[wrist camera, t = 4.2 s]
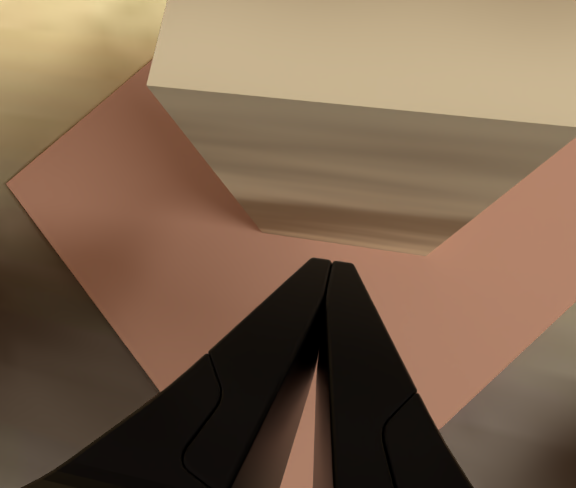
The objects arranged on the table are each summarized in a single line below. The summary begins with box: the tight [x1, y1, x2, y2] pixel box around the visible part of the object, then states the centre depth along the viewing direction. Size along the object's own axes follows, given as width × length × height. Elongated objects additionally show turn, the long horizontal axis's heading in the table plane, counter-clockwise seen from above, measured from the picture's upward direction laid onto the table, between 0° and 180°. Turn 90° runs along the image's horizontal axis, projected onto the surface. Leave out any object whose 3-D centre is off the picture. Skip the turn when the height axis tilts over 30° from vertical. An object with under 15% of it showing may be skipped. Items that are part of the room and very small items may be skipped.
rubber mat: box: [6, 59, 576, 488], centre depth 16 cm, size 20×18×1 cm
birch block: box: [146, 0, 576, 256], centre depth 11 cm, size 4×6×10 cm, turn 80°
